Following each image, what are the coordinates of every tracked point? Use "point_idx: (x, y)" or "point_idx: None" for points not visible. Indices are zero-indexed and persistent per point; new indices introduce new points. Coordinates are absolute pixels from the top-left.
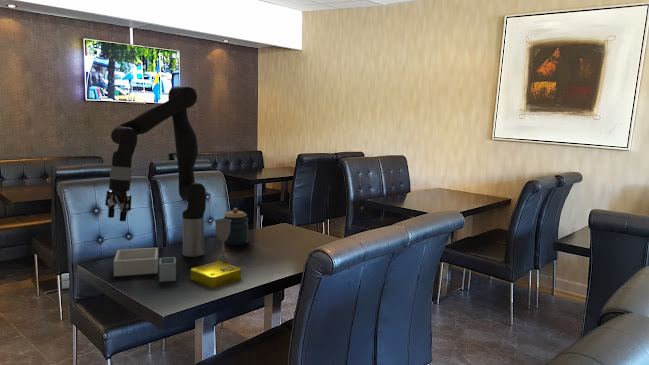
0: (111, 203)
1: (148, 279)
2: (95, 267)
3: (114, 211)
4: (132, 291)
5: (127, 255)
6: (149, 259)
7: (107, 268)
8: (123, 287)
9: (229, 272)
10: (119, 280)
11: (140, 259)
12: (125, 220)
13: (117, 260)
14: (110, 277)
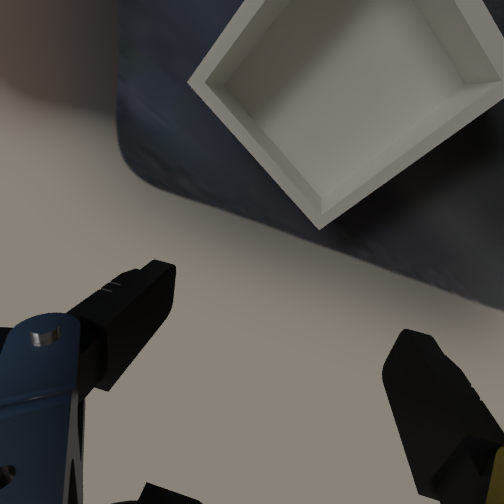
0: (80, 502)
1: (479, 171)
2: (187, 170)
3: (139, 297)
4: (483, 282)
5: (237, 54)
6: (477, 115)
7: (230, 156)
8: (428, 268)
9: None
10: (368, 228)
11: (425, 147)
12: (429, 337)
13: (324, 212)
14: None
